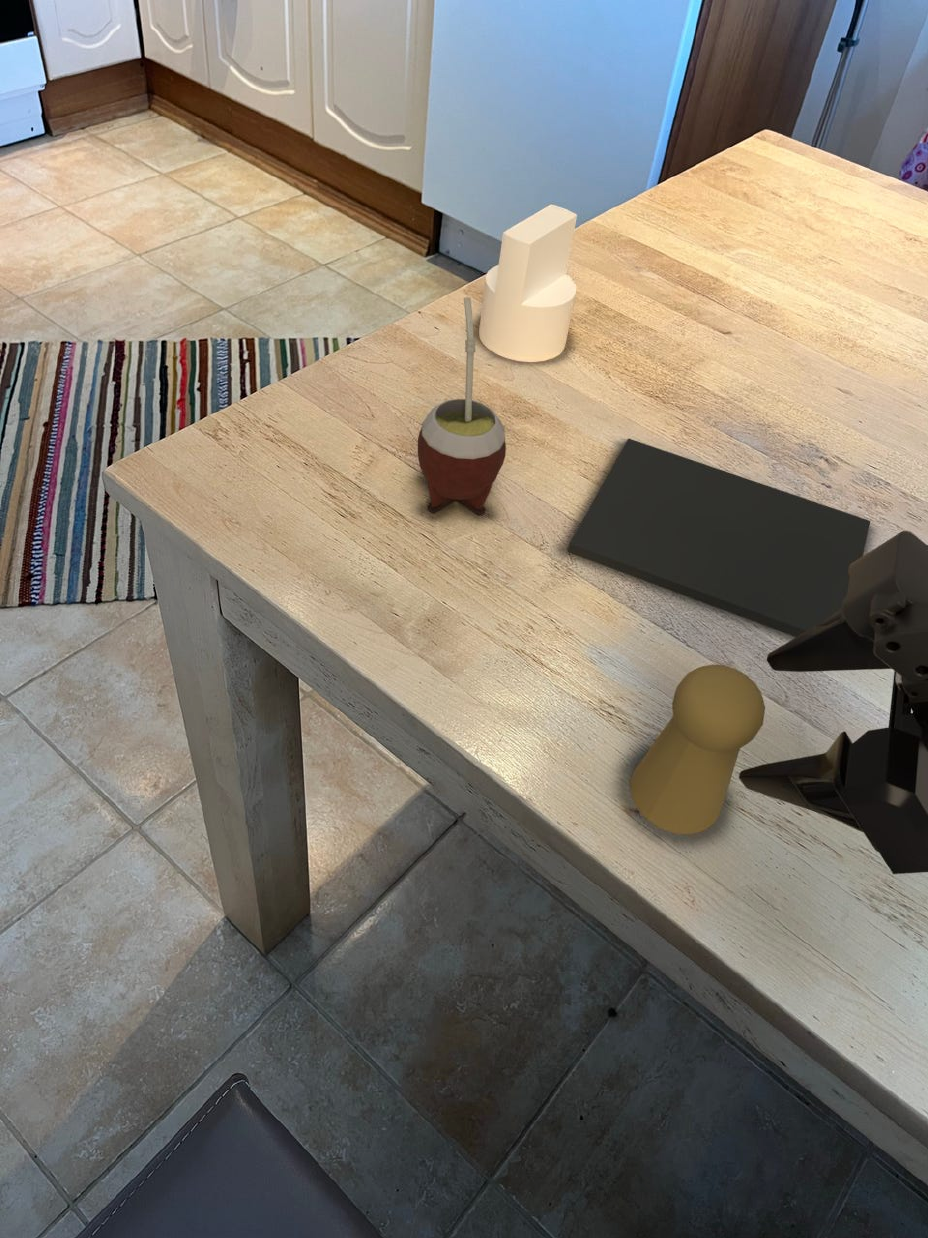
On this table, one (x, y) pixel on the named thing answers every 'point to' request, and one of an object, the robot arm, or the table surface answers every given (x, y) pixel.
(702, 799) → the mustard peg figure
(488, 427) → the mate gourd
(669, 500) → the mat
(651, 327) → the table surface
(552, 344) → the base with upright slab
